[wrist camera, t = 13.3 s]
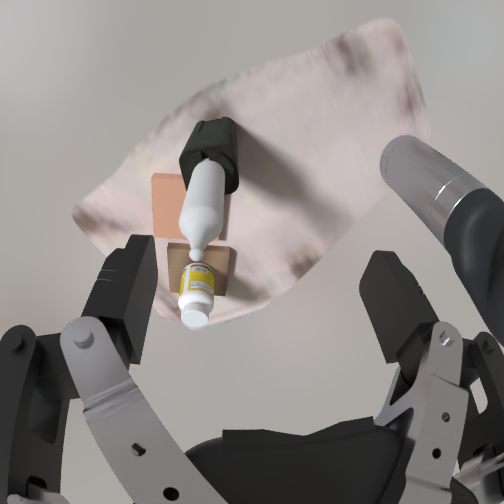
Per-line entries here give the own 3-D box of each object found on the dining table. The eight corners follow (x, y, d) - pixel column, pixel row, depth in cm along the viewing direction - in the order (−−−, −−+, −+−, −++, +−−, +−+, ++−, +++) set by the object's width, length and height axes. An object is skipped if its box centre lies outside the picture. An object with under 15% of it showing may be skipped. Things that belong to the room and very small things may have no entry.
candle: (200, 157, 37) (167, 295, 17) (193, 122, 34) (138, 228, 14) (237, 151, 37) (247, 285, 17) (232, 115, 34) (234, 212, 14)
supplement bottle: (194, 289, 50) (189, 333, 42) (176, 268, 47) (168, 314, 39) (220, 278, 49) (219, 324, 41) (203, 256, 46) (199, 302, 38)
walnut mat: (229, 246, 47) (229, 252, 46) (224, 290, 53) (224, 296, 52) (168, 242, 45) (167, 248, 44) (171, 286, 51) (170, 292, 50)
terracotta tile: (223, 177, 39) (223, 181, 38) (218, 235, 45) (218, 241, 44) (153, 173, 38) (151, 177, 37) (156, 231, 44) (154, 237, 43)
